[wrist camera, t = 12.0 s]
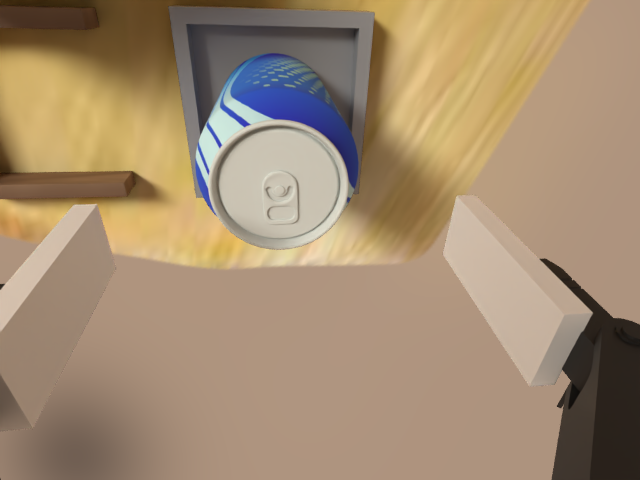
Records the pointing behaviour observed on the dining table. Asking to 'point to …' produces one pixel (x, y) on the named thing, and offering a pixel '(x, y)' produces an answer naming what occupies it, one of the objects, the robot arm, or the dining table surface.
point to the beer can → (276, 155)
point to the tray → (270, 37)
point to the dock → (58, 181)
